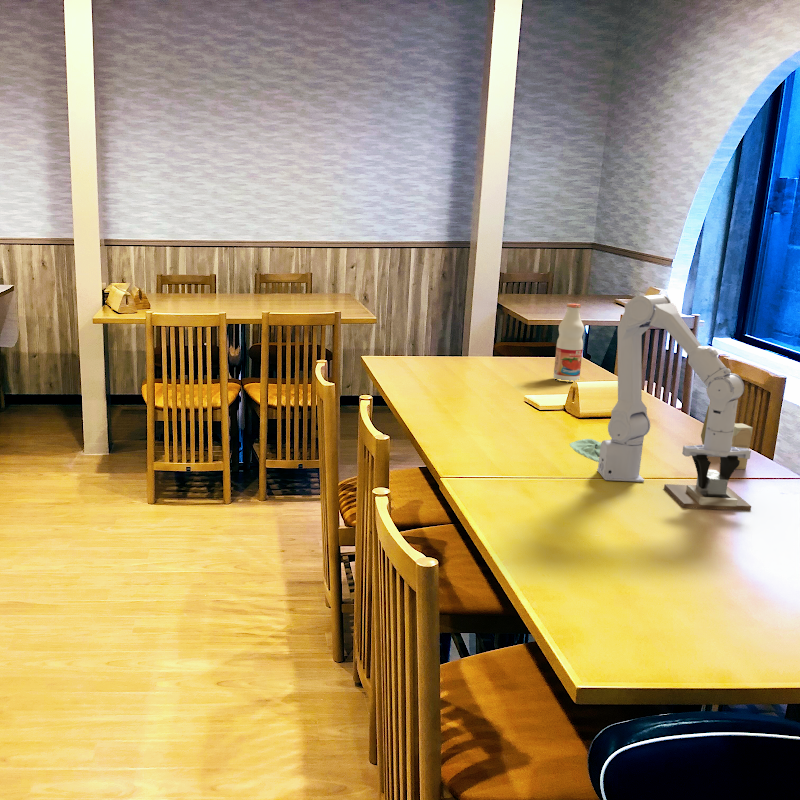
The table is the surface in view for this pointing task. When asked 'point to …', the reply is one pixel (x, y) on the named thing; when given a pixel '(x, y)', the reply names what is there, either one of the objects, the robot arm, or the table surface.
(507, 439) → the table surface
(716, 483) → the block
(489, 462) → the table surface
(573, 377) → the fruit juice
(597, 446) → the cloth
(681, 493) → the holder
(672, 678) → the table surface
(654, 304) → the robot arm
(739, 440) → the box
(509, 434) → the table surface
